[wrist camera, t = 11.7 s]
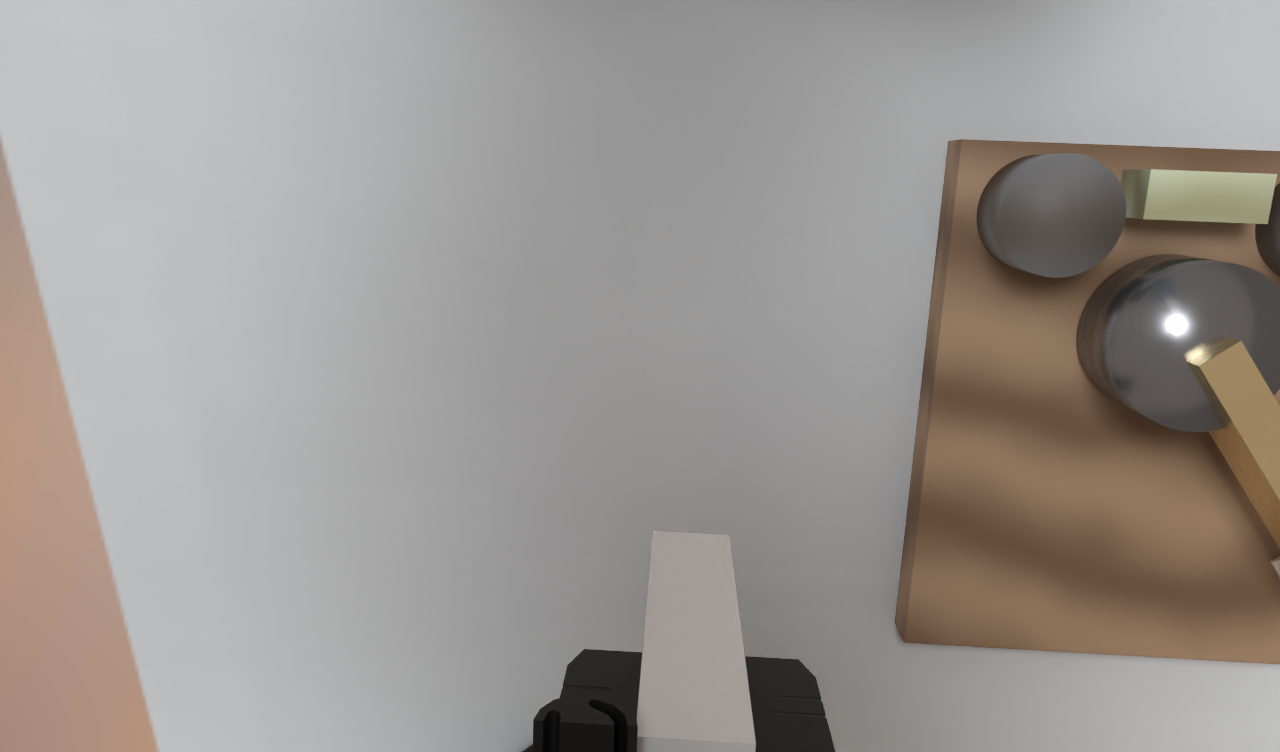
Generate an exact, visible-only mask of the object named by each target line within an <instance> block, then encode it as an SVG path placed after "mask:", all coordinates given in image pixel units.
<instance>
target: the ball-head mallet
mask: <svg viewBox="0 0 1280 752" xmlns="http://www.w3.org/2000/svg"><path fill="white" fill-rule="evenodd" d="M1078 350H1079V355H1080V360H1081V362H1082V365H1083V368H1084V370H1085V372H1086V374H1087V376H1088V377H1089V379H1090V380H1091V381H1092V383H1093V384H1094V385H1095V386H1096V387H1097V388H1098V389H1099V390H1100V391H1101V392H1102V393H1104V394H1105V395H1106V396H1108V397H1109V398H1111V399H1113V400H1115V401H1117V402H1118V403H1120V404H1122V405H1124V406H1126V407H1128V408H1130V409H1132V410H1134V411H1135V412H1137V413H1139V414H1141V415H1143V416H1145V417H1147V418H1149V419H1151V420H1153V421H1154V422H1156V423H1158V424H1160V425H1163V426H1165V427H1168V428H1171V429H1175V430H1179V431H1186V432H1207V431H1208V432H1209V433H1210V435H1211V437H1212V438H1213V440H1214V441H1215V443H1216V445H1217V446H1218V448H1219V450H1220V451H1221V453H1222V455H1223V456H1224V458H1225V460H1226V461H1227V463H1228V465H1229V466H1230V468H1231V469H1232V471H1233V473H1234V474H1235V476H1236V478H1237V479H1238V481H1239V483H1240V484H1241V486H1242V488H1243V489H1244V491H1245V492H1246V494H1247V496H1248V497H1249V499H1250V501H1251V502H1252V504H1253V506H1254V507H1255V509H1256V511H1257V512H1258V514H1259V516H1260V517H1261V519H1262V520H1263V522H1264V524H1265V525H1266V527H1267V529H1268V530H1269V532H1270V534H1271V535H1272V537H1273V539H1274V540H1275V542H1276V544H1277V545H1278V547H1279V548H1280V406H1279V404H1278V402H1277V401H1276V399H1275V397H1274V395H1275V394H1276V393H1277V392H1278V390H1279V389H1280V288H1279V287H1278V286H1277V285H1276V284H1275V283H1274V282H1273V281H1272V280H1270V279H1269V278H1268V277H1266V276H1265V275H1263V274H1261V273H1260V272H1258V271H1256V270H1254V269H1251V268H1249V267H1246V266H1243V265H1238V264H1234V263H1228V262H1222V261H1216V260H1210V259H1204V258H1198V257H1192V256H1186V255H1178V254H1158V255H1152V256H1147V257H1144V258H1140V259H1137V260H1135V261H1133V262H1130V263H1128V264H1126V265H1125V266H1123V267H1121V268H1119V269H1118V270H1116V271H1115V272H1114V273H1112V274H1111V275H1110V276H1109V277H1108V278H1106V279H1105V280H1104V281H1103V282H1102V283H1101V284H1100V286H1099V287H1098V288H1097V289H1096V290H1095V292H1094V293H1093V295H1092V296H1091V298H1090V299H1089V301H1088V303H1087V305H1086V307H1085V309H1084V311H1083V314H1082V317H1081V320H1080V325H1079V330H1078Z"/></svg>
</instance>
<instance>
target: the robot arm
mask: <svg viewBox="0 0 1280 752" xmlns="http://www.w3.org/2000/svg"><path fill="white" fill-rule="evenodd" d="M533 752H835V749H834V745H833V742H832V738H831V734H830V730H829V726H828V723H827V719H826V718H825V711H824V707H823V704H822V702H821V696H820V692H819V688H818V684H817V681H816V678H815V676H814V675H813V674H812V673H811V672H810V671H809V670H808V669H807V668H806V667H805V666H804V665H803V664H802V663H801V662H800V661H799V660H797V659H780V658H763V657H746V656H745V654H744V646H743V638H742V630H741V622H740V614H739V607H738V599H737V591H736V583H735V575H734V567H733V559H732V552H731V544H730V536H729V535H725V534H707V533H688V532H670V531H653V534H652V546H651V558H650V569H649V581H648V593H647V605H646V616H645V628H644V640H643V651H642V653H640V652H623V651H606V650H589V649H584V650H583V651H582V652H581V653H580V654H579V655H578V656H577V657H576V658H575V659H574V660H573V661H571V662H570V663H569V664H568V666H567V670H566V674H565V679H564V683H563V688H562V691H561V696H560V698H559V699H555V700H553V701H552V702H550V703H549V704H547V705H546V706H544V707H543V708H541V709H540V711H539V712H538V714H537V715H536V717H535V719H534V723H533Z"/></svg>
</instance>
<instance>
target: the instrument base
mask: <svg viewBox="0 0 1280 752" xmlns="http://www.w3.org/2000/svg"><path fill="white" fill-rule="evenodd" d="M1158 254H1178V255H1186V256H1192V257H1198V258H1204V259H1210V260H1216V261H1222V262H1228V263H1234V264H1238V265H1243V266H1246V267H1249V268H1251V269H1254V270H1256V271H1258V272H1260V273H1261V274H1263V275H1265V276H1266V277H1268V278H1269V279H1270V280H1272V281H1273V282H1274V283H1275V284H1276V285H1277V286H1278V287H1279V288H1280V151H1256V150H1229V149H1202V148H1175V147H1149V146H1122V145H1095V144H1068V143H1041V142H1014V141H987V140H954V141H949V142H948V151H947V160H946V169H945V178H944V187H943V196H942V205H941V214H940V223H939V232H938V241H937V250H936V259H935V268H934V277H933V286H932V295H931V304H930V313H929V322H928V331H927V340H926V349H925V358H924V367H923V376H922V385H921V394H920V403H919V412H918V421H917V430H916V438H915V447H914V456H913V465H912V474H911V483H910V492H909V501H908V510H907V519H906V528H905V537H904V546H903V555H902V564H901V573H900V582H899V591H898V600H897V609H896V618H895V624H896V626H897V628H898V630H899V632H900V634H901V636H902V638H903V641H904V642H905V643H923V644H940V645H957V646H974V647H991V648H1009V649H1026V650H1043V651H1060V652H1077V653H1095V654H1112V655H1129V656H1146V657H1163V658H1181V659H1198V660H1215V661H1232V662H1249V663H1267V664H1280V548H1279V547H1278V545H1277V544H1276V542H1275V540H1274V539H1273V537H1272V535H1271V534H1270V532H1269V530H1268V529H1267V527H1266V525H1265V524H1264V522H1263V520H1262V519H1261V517H1260V516H1259V514H1258V512H1257V511H1256V509H1255V507H1254V506H1253V504H1252V502H1251V501H1250V499H1249V497H1248V496H1247V494H1246V492H1245V491H1244V489H1243V488H1242V486H1241V484H1240V483H1239V481H1238V479H1237V478H1236V476H1235V474H1234V473H1233V471H1232V469H1231V468H1230V466H1229V465H1228V463H1227V461H1226V460H1225V458H1224V456H1223V455H1222V453H1221V451H1220V450H1219V448H1218V446H1217V445H1216V443H1215V441H1214V440H1213V438H1212V437H1211V435H1210V433H1209V432H1208V431H1207V432H1186V431H1179V430H1175V429H1171V428H1168V427H1165V426H1163V425H1160V424H1158V423H1156V422H1154V421H1153V420H1151V419H1149V418H1147V417H1145V416H1143V415H1141V414H1139V413H1137V412H1135V411H1134V410H1132V409H1130V408H1128V407H1126V406H1124V405H1122V404H1120V403H1118V402H1117V401H1115V400H1113V399H1111V398H1109V397H1108V396H1106V395H1105V394H1104V393H1102V392H1101V391H1100V390H1099V389H1098V388H1097V387H1096V386H1095V385H1094V384H1093V383H1092V381H1091V380H1090V379H1089V377H1088V376H1087V374H1086V372H1085V370H1084V368H1083V365H1082V362H1081V360H1080V355H1079V350H1078V330H1079V325H1080V320H1081V317H1082V314H1083V311H1084V309H1085V307H1086V305H1087V303H1088V301H1089V299H1090V298H1091V296H1092V295H1093V293H1094V292H1095V290H1096V289H1097V288H1098V287H1099V286H1100V284H1101V283H1102V282H1103V281H1104V280H1105V279H1106V278H1108V277H1109V276H1110V275H1111V274H1112V273H1114V272H1115V271H1116V270H1118V269H1119V268H1121V267H1123V266H1125V265H1126V264H1128V263H1130V262H1133V261H1135V260H1137V259H1140V258H1144V257H1147V256H1152V255H1158ZM1274 397H1275V399H1276V401H1277V402H1278V404H1279V406H1280V389H1279V390H1278V392H1277V393H1276V394H1275V395H1274Z"/></svg>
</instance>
